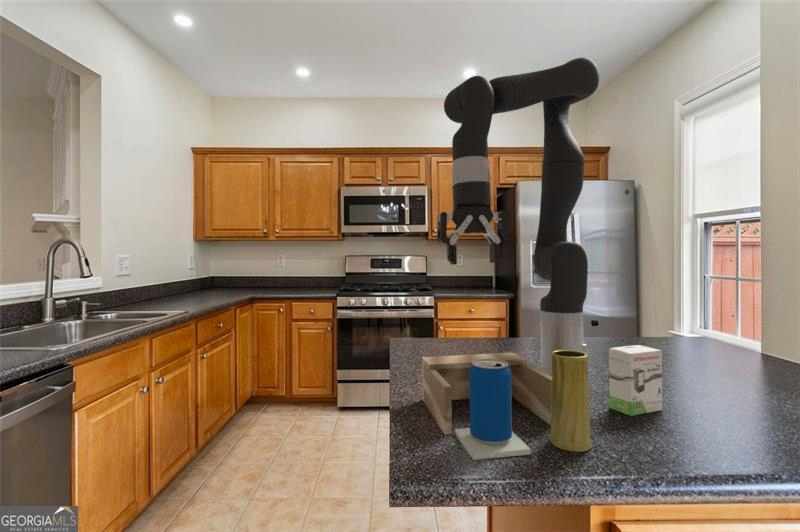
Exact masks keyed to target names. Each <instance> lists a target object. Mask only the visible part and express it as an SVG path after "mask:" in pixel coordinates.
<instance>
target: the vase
mask: <svg viewBox="0 0 800 532" xmlns="http://www.w3.org/2000/svg"><path fill="white" fill-rule="evenodd" d="M588 359H589V357H588V353H587V354H586V353H584V352H579V351H573V350H556V351H553V352H552V409H551V425H550V435H549V442H550V443H551V444H552V445H553V446H554V447H556V448H558V449H560V450H562V451H566V452H573V453H584V452H588V451H589V450H591V449H592V447H593V443H592V439H591V415H590V397H589V395H590V393H589V375H588V374H589V373H588V372H589V371H588V370H589V369H587V368H588Z"/></svg>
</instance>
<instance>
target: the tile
mask: <svg viewBox="0 0 800 532" xmlns="http://www.w3.org/2000/svg"><path fill="white" fill-rule="evenodd" d="M454 434H455V437H457V439H458V440H459V442H460V443H461V445H462V446H463V448H464V450H465V451H466V452H467V453H468V456H470V458H472V460H473V461H477V460H487V459H496V458H498V459H499V458H506V457H517V456H519V457H520V456H528V455H531V454H532V448H530V447H529V446H528V445H527V444H526V443H525V442H524V441H523V440H522V439H521V438H520V437H519V436H518V435H516V433H514V431H512V437H511V438H510V439H509V440H507V441H506V442H505V443H504V444H501V445H487V444H483V443H480V442H479V441H477V440H476V439H475V438H474V437H473V436H472V435H471V433H470V427H464V428H454Z"/></svg>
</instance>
